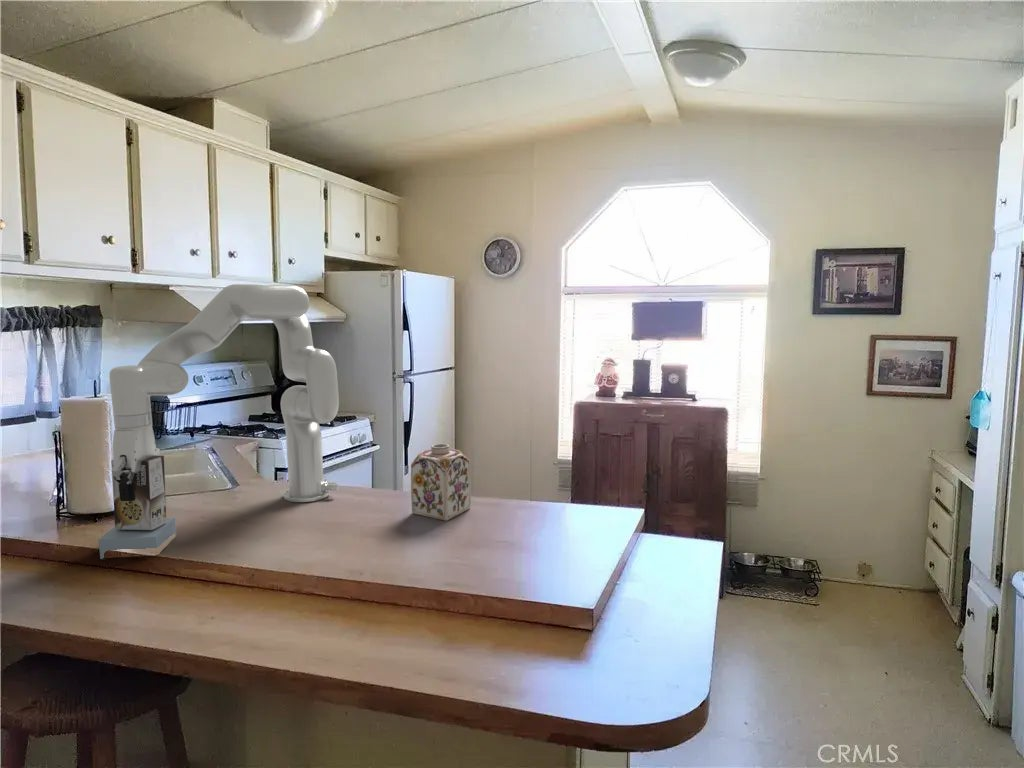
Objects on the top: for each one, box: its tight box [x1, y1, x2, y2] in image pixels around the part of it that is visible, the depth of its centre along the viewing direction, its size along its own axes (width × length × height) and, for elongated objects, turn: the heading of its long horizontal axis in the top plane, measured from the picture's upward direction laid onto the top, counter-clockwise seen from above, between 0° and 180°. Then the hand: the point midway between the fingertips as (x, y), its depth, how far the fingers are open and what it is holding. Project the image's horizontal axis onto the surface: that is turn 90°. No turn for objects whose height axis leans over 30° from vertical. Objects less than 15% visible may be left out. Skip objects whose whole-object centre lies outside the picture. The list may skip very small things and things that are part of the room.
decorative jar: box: [410, 443, 472, 522], centre depth 181 cm, size 12×12×18 cm
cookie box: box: [110, 455, 167, 530], centre depth 158 cm, size 9×6×16 cm
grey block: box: [98, 517, 177, 560], centre depth 159 cm, size 12×12×5 cm
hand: (140, 493), depth 158 cm, fingers open, 9 cm apart
